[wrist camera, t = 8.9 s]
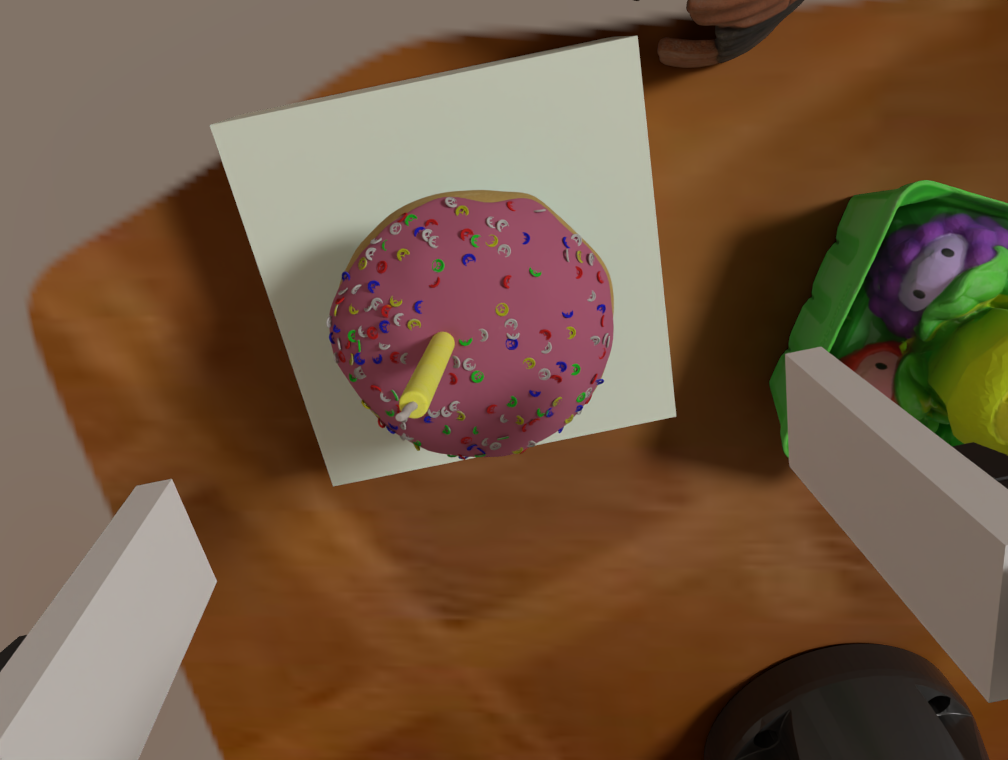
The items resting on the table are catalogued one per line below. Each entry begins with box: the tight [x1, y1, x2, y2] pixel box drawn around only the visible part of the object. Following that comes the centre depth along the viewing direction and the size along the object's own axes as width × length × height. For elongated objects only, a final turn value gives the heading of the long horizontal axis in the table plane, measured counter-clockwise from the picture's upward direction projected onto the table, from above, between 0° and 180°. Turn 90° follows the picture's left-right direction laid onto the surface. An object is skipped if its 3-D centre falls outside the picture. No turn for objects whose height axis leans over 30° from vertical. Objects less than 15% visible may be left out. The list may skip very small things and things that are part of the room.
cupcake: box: [326, 190, 614, 460], centre depth 21 cm, size 9×8×12 cm
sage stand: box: [210, 36, 676, 486], centre depth 28 cm, size 14×14×4 cm
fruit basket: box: [769, 180, 1008, 458], centre depth 27 cm, size 11×9×11 cm
